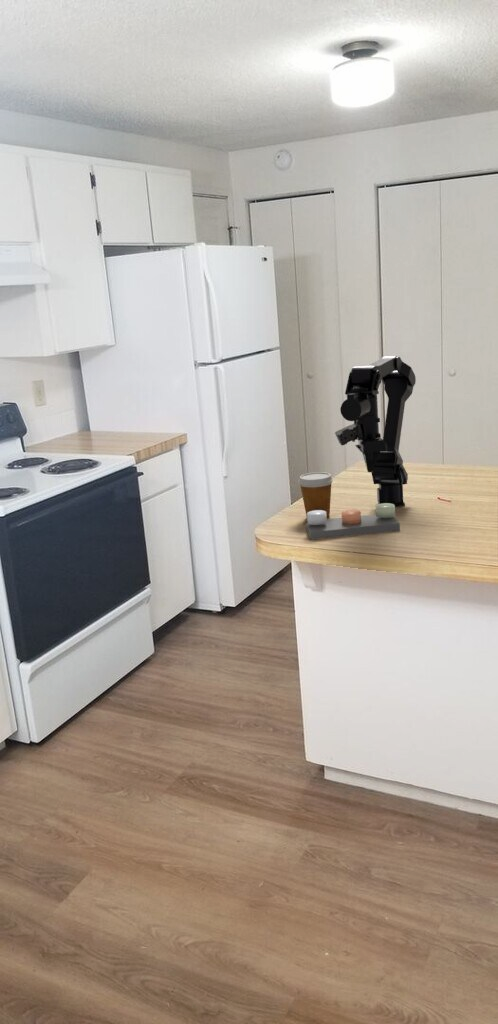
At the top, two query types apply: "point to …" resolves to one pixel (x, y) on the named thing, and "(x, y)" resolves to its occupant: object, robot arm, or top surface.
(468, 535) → the top surface
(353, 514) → the button terracotta
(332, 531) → the panel
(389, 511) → the button sage
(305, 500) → the disposable coffee cup
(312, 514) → the button bluegrey
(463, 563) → the top surface
